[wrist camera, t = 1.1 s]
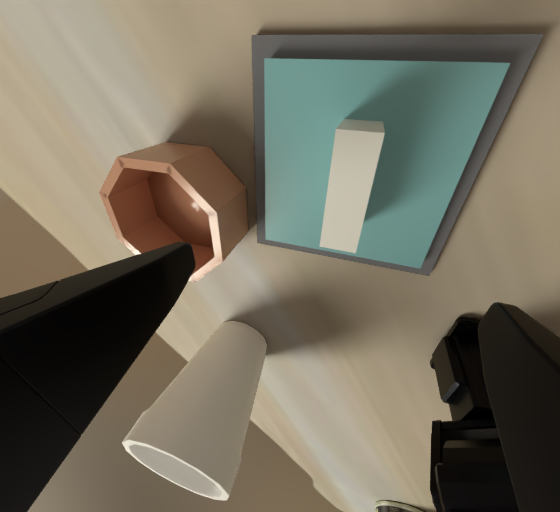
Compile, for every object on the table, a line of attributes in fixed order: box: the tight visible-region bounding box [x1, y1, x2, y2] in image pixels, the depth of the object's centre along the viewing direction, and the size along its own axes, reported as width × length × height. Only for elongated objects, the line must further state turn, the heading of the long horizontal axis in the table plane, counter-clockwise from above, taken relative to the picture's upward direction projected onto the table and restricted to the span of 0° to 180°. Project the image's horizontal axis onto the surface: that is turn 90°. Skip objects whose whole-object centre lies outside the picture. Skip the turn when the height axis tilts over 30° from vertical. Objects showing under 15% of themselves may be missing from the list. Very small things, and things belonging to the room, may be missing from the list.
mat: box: [252, 34, 544, 276], centre depth 16 cm, size 13×13×1 cm
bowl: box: [99, 142, 248, 282], centre depth 19 cm, size 9×9×4 cm
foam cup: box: [122, 321, 267, 500], centre depth 25 cm, size 10×9×13 cm
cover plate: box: [264, 58, 510, 268], centre depth 14 cm, size 11×11×4 cm
